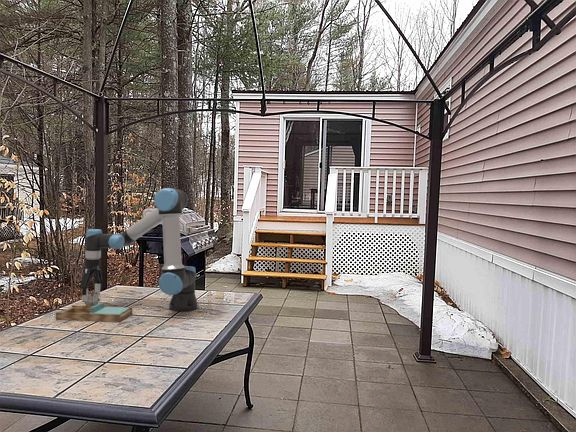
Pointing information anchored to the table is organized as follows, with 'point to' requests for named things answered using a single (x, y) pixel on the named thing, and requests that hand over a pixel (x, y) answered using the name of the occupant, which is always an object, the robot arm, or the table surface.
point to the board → (90, 315)
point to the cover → (107, 310)
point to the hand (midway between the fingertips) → (91, 298)
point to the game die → (92, 300)
